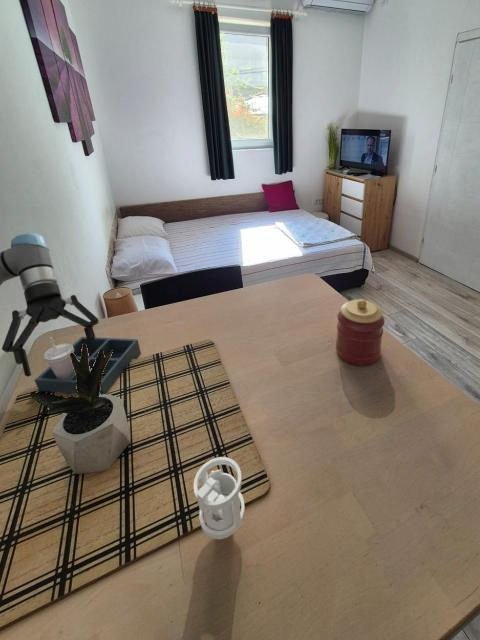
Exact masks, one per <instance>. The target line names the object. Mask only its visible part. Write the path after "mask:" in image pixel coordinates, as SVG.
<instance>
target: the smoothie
mask: <svg viewBox="0 0 480 640" xmlns="http://www.w3.org/2000/svg"><path fill="white" fill-rule="evenodd" d="M49 341H50V344H51V346H52V347H50V348H48V350H46V351H45V352H44V354H43V359H44V362H45V363H47V364H48V367H49V366H50V367H51V369H52V371H53V372H54V374H55V375H56V379H64V380H68V379H69V378H70V377H71V376H72V375H73V374H74V373H75V372H74V369H73V365H72V363H71V358H70V354H71V353H73V352H74V348H73V346H72V345H73V344H71V343H60V344H57V345H56V344H55V341H54V339H53V337H52V336H50V337H49Z"/></svg>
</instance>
